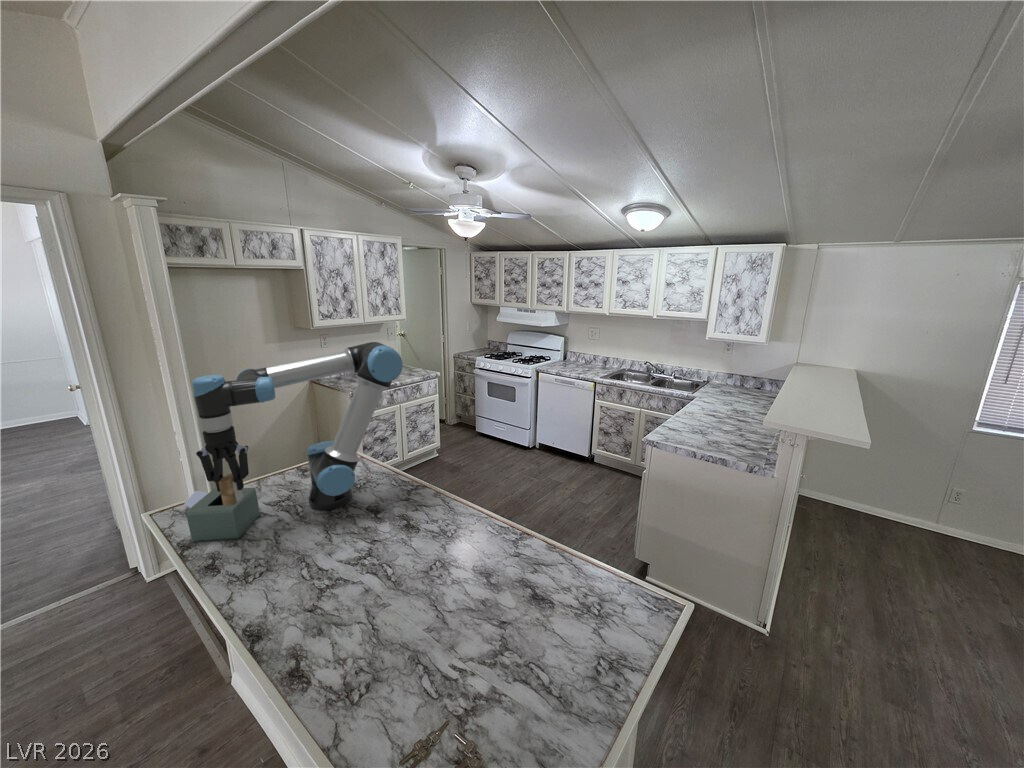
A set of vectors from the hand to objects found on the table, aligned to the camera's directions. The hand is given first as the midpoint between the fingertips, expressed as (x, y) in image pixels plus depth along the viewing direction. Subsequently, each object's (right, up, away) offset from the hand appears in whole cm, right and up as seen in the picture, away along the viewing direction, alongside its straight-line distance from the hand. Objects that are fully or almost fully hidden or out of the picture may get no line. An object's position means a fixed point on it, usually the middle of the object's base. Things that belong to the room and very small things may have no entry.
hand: (233, 499), depth 123 cm
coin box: (-11, -14, +13) cm, 22 cm away
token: (0, 0, 0) cm, 0 cm away
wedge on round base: (-25, -11, +23) cm, 36 cm away
